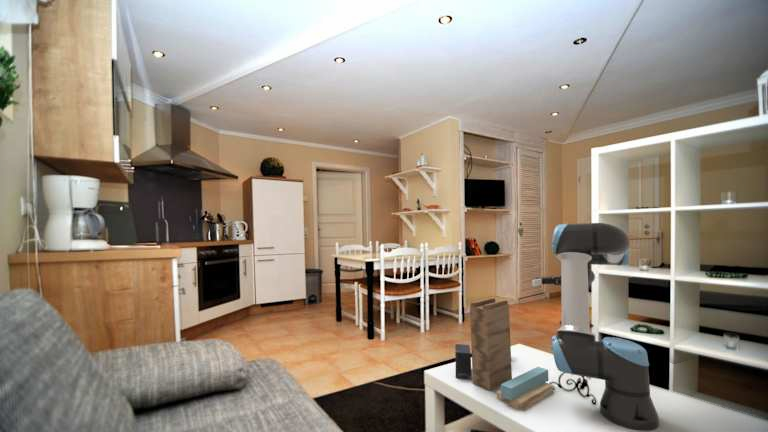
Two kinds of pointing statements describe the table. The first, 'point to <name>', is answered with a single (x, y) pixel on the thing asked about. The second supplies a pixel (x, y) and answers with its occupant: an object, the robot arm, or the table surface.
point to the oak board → (528, 396)
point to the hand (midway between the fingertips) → (548, 285)
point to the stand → (490, 343)
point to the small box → (463, 361)
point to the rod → (524, 383)
